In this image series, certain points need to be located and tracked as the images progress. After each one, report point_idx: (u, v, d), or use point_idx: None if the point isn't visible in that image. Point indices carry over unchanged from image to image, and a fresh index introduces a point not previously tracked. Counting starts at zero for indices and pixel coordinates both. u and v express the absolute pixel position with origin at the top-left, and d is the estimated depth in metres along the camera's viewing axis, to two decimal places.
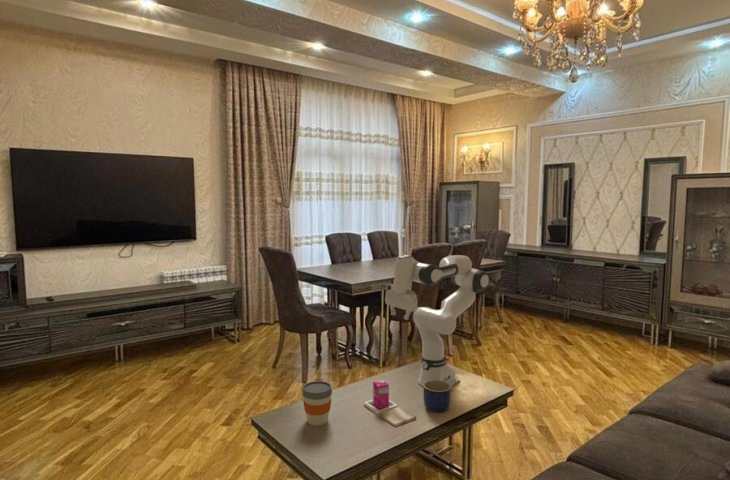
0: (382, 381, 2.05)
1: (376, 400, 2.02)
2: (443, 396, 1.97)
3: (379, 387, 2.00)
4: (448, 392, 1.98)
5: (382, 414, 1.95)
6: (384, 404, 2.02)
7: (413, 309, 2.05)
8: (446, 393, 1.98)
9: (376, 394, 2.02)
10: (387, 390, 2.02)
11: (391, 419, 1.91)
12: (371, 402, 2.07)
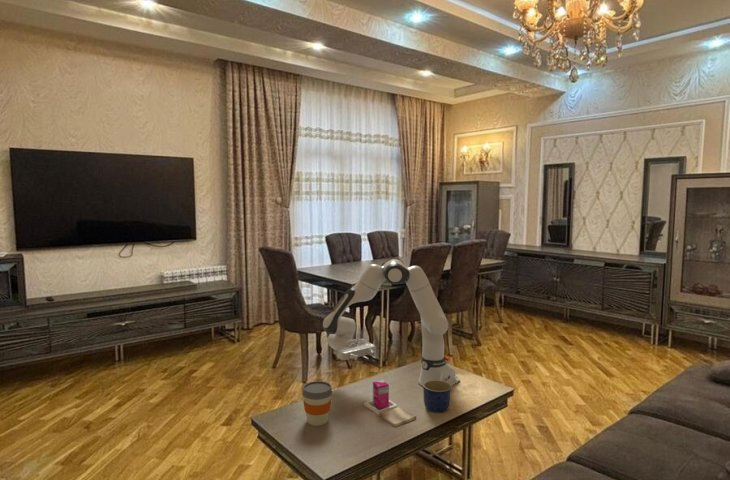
0: (382, 381, 2.05)
1: (376, 400, 2.02)
2: (443, 396, 1.97)
3: (379, 387, 2.00)
4: (448, 392, 1.98)
5: (382, 414, 1.95)
6: (384, 404, 2.02)
7: (341, 358, 2.11)
8: (446, 393, 1.98)
9: (376, 394, 2.02)
10: (387, 390, 2.02)
11: (391, 419, 1.91)
12: (371, 402, 2.07)
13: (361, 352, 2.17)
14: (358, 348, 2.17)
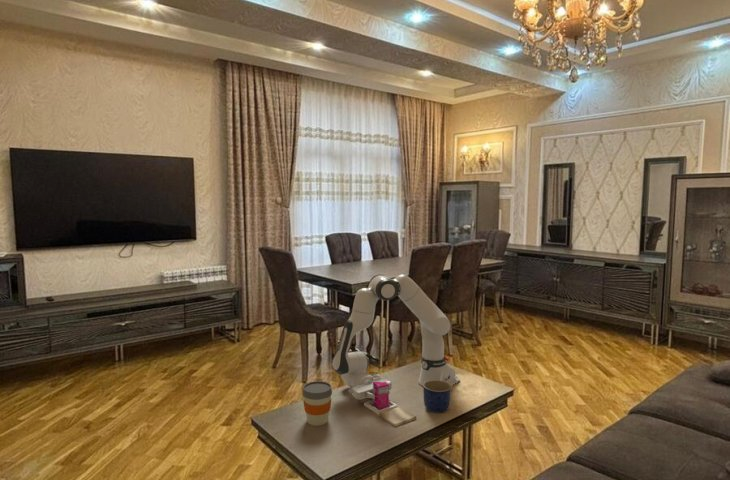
0: (382, 381, 2.05)
1: (376, 400, 2.02)
2: (443, 396, 1.97)
3: (379, 387, 2.00)
4: (448, 392, 1.98)
5: (382, 414, 1.95)
6: (384, 404, 2.02)
7: (356, 397, 2.02)
8: (446, 393, 1.98)
9: (376, 394, 2.02)
10: (387, 389, 2.02)
11: (391, 419, 1.91)
12: (371, 402, 2.07)
13: None
14: None
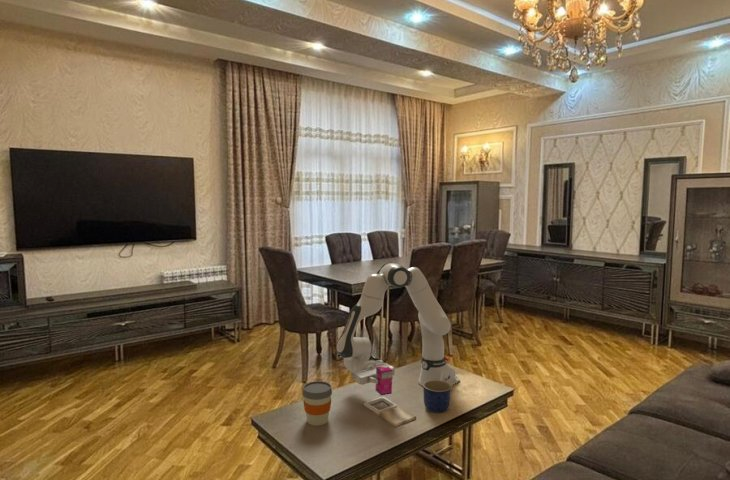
0: (385, 366, 2.03)
1: (379, 385, 1.99)
2: (443, 396, 1.97)
3: (382, 372, 1.98)
4: (448, 392, 1.98)
5: (382, 414, 1.95)
6: (387, 389, 2.00)
7: (359, 382, 2.00)
8: (446, 393, 1.98)
9: (379, 379, 1.99)
10: (390, 375, 2.00)
11: (391, 419, 1.91)
12: (371, 402, 2.07)
13: None
14: None
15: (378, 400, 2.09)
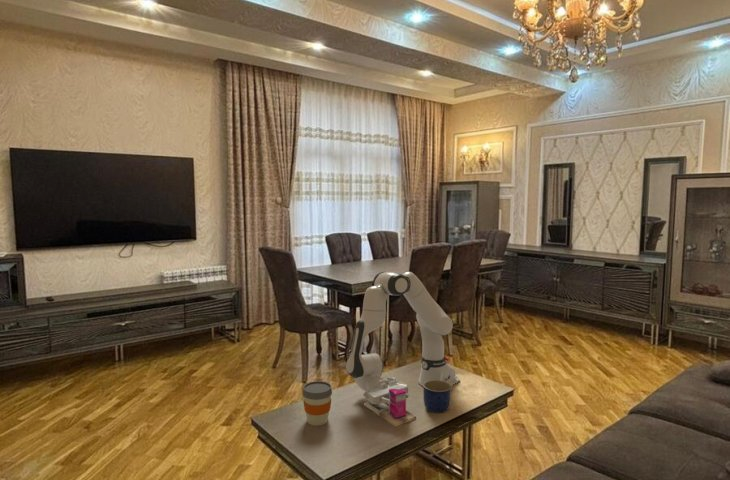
0: (398, 388, 1.96)
1: (393, 409, 1.92)
2: (443, 396, 1.97)
3: (396, 394, 1.90)
4: (448, 392, 1.98)
5: (382, 414, 1.95)
6: (401, 412, 1.92)
7: (372, 402, 1.92)
8: (446, 393, 1.98)
9: (393, 402, 1.92)
10: (404, 397, 1.93)
11: (391, 419, 1.91)
12: None
13: None
14: None
15: None
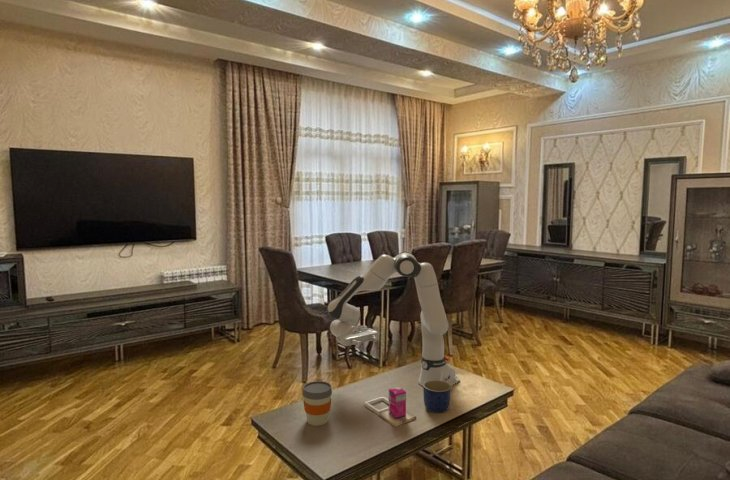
0: (398, 388, 1.96)
1: (393, 409, 1.92)
2: (443, 396, 1.97)
3: (396, 394, 1.90)
4: (448, 392, 1.98)
5: (382, 414, 1.95)
6: (401, 412, 1.92)
7: (343, 344, 2.09)
8: (446, 393, 1.98)
9: (393, 402, 1.92)
10: (404, 397, 1.93)
11: (391, 419, 1.91)
12: (371, 402, 2.07)
13: (364, 338, 2.15)
14: (360, 334, 2.15)
15: (378, 400, 2.09)
